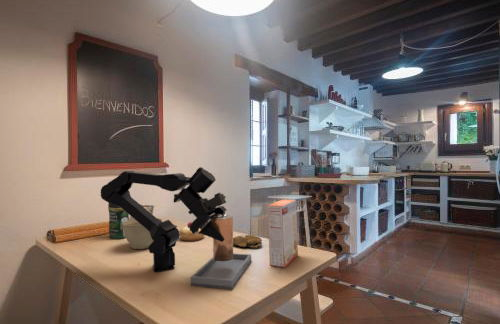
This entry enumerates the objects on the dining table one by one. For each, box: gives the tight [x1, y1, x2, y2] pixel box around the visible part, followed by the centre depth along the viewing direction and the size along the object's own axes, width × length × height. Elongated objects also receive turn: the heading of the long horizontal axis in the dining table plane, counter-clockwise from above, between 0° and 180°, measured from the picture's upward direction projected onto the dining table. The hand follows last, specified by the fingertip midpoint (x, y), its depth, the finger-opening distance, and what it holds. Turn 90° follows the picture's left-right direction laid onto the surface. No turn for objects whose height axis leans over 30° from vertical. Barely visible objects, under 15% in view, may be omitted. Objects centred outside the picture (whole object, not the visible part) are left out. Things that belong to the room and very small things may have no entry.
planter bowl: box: [122, 217, 163, 250], centre depth 121 cm, size 16×16×11 cm
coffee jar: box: [107, 203, 130, 240], centre depth 137 cm, size 10×8×19 cm
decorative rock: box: [233, 234, 263, 250], centre depth 119 cm, size 11×4×15 cm
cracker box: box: [267, 198, 299, 268], centre depth 100 cm, size 14×6×21 cm, turn 152°
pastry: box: [179, 219, 205, 242], centre depth 132 cm, size 12×12×9 cm
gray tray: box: [190, 252, 252, 291], centre depth 90 cm, size 13×22×2 cm, turn 166°
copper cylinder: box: [212, 212, 234, 261], centre depth 90 cm, size 6×6×14 cm
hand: (227, 237), depth 90 cm, fingers closed on copper cylinder, 6 cm apart
